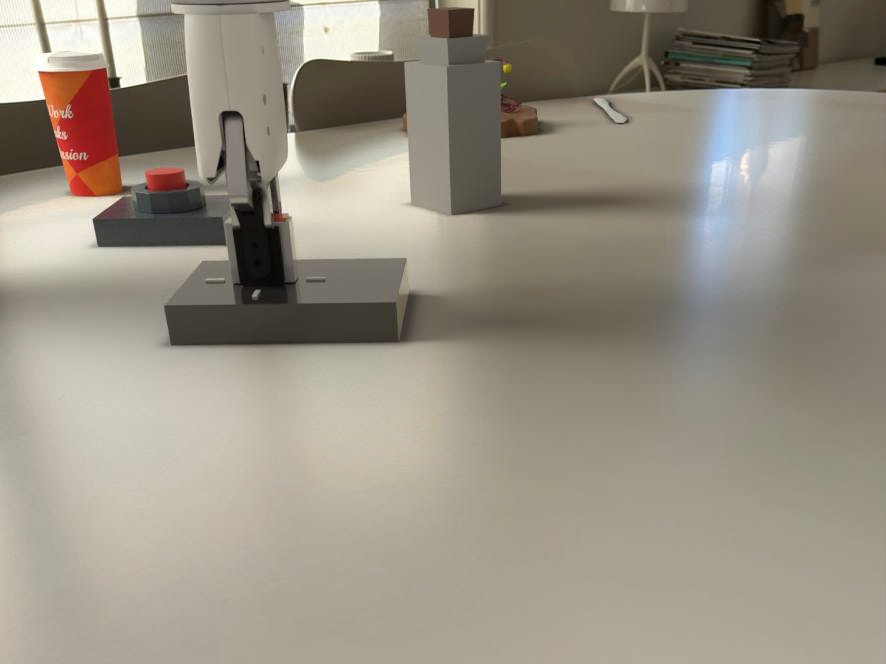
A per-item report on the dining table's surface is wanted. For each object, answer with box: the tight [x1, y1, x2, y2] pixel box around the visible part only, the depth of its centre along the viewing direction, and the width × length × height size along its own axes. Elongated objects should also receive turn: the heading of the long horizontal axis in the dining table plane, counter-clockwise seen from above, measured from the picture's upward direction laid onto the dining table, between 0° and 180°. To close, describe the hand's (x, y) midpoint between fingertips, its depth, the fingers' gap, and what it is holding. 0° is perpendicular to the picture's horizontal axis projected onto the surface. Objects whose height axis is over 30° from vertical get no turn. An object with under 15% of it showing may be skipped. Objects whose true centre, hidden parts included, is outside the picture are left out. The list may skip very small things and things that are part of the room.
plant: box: [402, 56, 539, 139], centre depth 153 cm, size 20×20×11 cm
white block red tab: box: [224, 212, 298, 284], centre depth 76 cm, size 5×2×4 cm, turn 91°
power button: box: [144, 166, 187, 191], centre depth 100 cm, size 4×4×2 cm
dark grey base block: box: [163, 257, 410, 346], centre depth 78 cm, size 16×12×3 cm
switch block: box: [91, 179, 231, 248], centre depth 101 cm, size 12×10×4 cm
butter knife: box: [593, 97, 628, 124], centre depth 168 cm, size 1×27×3 cm
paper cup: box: [33, 50, 123, 198], centre depth 116 cm, size 8×8×14 cm
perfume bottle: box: [403, 6, 502, 216], centre depth 107 cm, size 7×7×18 cm
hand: (265, 278), depth 77 cm, fingers closed on white block red tab, 2 cm apart
